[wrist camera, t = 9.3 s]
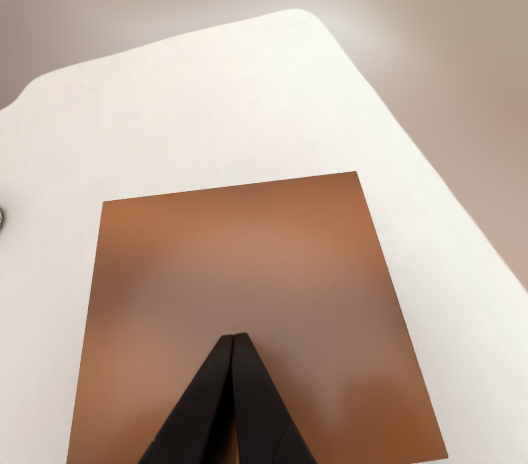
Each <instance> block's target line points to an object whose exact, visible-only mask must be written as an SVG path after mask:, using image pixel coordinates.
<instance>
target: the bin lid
mask: <svg viewBox="0 0 528 464" xmlns="http://www.w3.org/2000/svg"><path fill="white" fill-rule="evenodd" d="M243 332H247V333H248V335H249V337H250V339H251V341H252V342H253V344H254V346H255V348H256V350H257V352H258V354H259V356H260V358H261V360H262V362H263V363H264V365H265V367H266V369H267V371H268V373H269V375H270V377H271V379H272V381H273V383H274V384H275V386H276V388H277V390H278V392H279V394H280V396H281V398H282V400H283V402H284V404H285V406H286V407H287V409H288V411H289V413H290V415H291V417H292V420H293V421H294V422H295V424H296V426H297V428H298V430H299V432H300V434H301V436H302V437H303V439H304V441H305V443H306V444H307V446H308V448H309V450H310V451H311V453H312V455H313V457H314V458H315V460H316V461H317V463H318V464H413V463H420V462H427V461H434V460H440V459H447V458H448V454H447V451H446V448H445V444H444V441H443V438H442V435H441V432H440V429H439V426H438V423H437V420H436V417H435V413H434V410H433V407H432V404H431V401H430V398H429V395H428V392H427V389H426V386H425V382H424V379H423V376H422V373H421V370H420V367H419V364H418V361H417V358H416V355H415V351H414V348H413V345H412V342H411V339H410V336H409V333H408V330H407V327H406V324H405V320H404V317H403V314H402V311H401V308H400V305H399V302H398V299H397V296H396V293H395V289H394V286H393V283H392V280H391V277H390V274H389V271H388V268H387V265H386V262H385V259H384V255H383V252H382V249H381V246H380V243H379V240H378V237H377V234H376V231H375V228H374V224H373V221H372V218H371V215H370V212H369V209H368V206H367V203H366V200H365V197H364V193H363V190H362V187H361V184H360V181H359V178H358V175H357V172H356V171H353V172H345V173H336V174H328V175H320V176H311V177H303V178H295V179H287V180H278V181H270V182H262V183H253V184H245V185H237V186H229V187H220V188H212V189H204V190H196V191H187V192H179V193H171V194H162V195H154V196H146V197H138V198H129V199H121V200H113V201H104V202H103V207H102V214H101V221H100V228H99V235H98V242H97V249H96V257H95V264H94V271H93V278H92V285H91V292H90V299H89V306H88V314H87V321H86V328H85V335H84V342H83V349H82V356H81V364H80V371H79V378H78V385H77V392H76V399H75V406H74V413H73V421H72V428H71V435H70V442H69V449H68V456H67V463H66V464H137V462H138V461H139V459H140V458H141V457H142V455H143V453H144V452H145V450H146V449H147V447H148V446H149V444H150V443H151V441H154V437H155V435H156V434H157V432H158V431H159V429H160V428H161V426H162V425H163V423H164V422H165V420H166V419H167V417H168V416H169V414H170V413H171V411H172V410H173V408H174V407H175V405H176V403H177V402H178V400H179V399H180V397H181V396H182V394H183V393H184V391H185V390H186V388H187V387H188V385H189V384H190V382H191V381H192V379H193V378H194V376H195V375H196V373H197V371H198V370H199V368H200V367H201V365H202V364H203V362H204V361H205V359H206V358H207V356H208V355H209V353H210V352H211V350H212V349H213V347H214V346H215V344H216V343H217V341H218V340H219V338H220V337H221V336H222V335H228V334H233V335H235V334H236V333H243ZM236 464H239V455H238V443H237V455H236Z"/></svg>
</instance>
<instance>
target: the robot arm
mask: <svg viewBox="0 0 528 464" xmlns="http://www.w3.org/2000/svg"><path fill="white" fill-rule="evenodd" d="M237 443H238V455H239V464H318V463H317V461H316V460H315V458H314V457H313V455H312V453H311V451H310V450H309V448H308V446H307V444H306V443H305V441H304V439H303V437H302V436H301V434H300V432H299V430H298V428H297V426H296V424H295V422H294V421H293V420H292V417H291V415H290V413H289V411H288V409H287V407H286V406H285V404H284V402H283V400H282V398H281V396H280V394H279V392H278V390H277V388H276V386H275V384H274V383H273V381H272V379H271V377H270V375H269V373H268V371H267V369H266V367H265V365H264V363H263V362H262V360H261V358H260V356H259V354H258V352H257V350H256V348H255V346H254V344H253V342H252V341H251V339H250V337H249V335H248V333H247V332H243V333H236V334H235V335H233V334H228V335H222V336H221V337H220V338H219V340H218V341H217V343H216V344H215V346H214V347H213V349H212V350H211V352H210V353H209V355H208V356H207V358H206V359H205V361H204V362H203V364H202V365H201V367H200V368H199V370H198V371H197V373H196V375H195V376H194V378H193V379H192V381H191V382H190V384H189V385H188V387H187V388H186V390H185V391H184V393H183V394H182V396H181V397H180V399H179V400H178V402H177V403H176V405H175V407H174V408H173V410H172V411H171V413H170V414H169V416H168V417H167V419H166V420H165V422H164V423H163V425H162V426H161V428H160V429H159V431H158V432H157V434H156V435H155V437H154V441H151V443H150V444H149V446H148V447H147V449H146V450H145V452H144V453H143V455H142V457H141V458H140V459H139V461H138V462H137V464H236V455H237Z"/></svg>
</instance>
